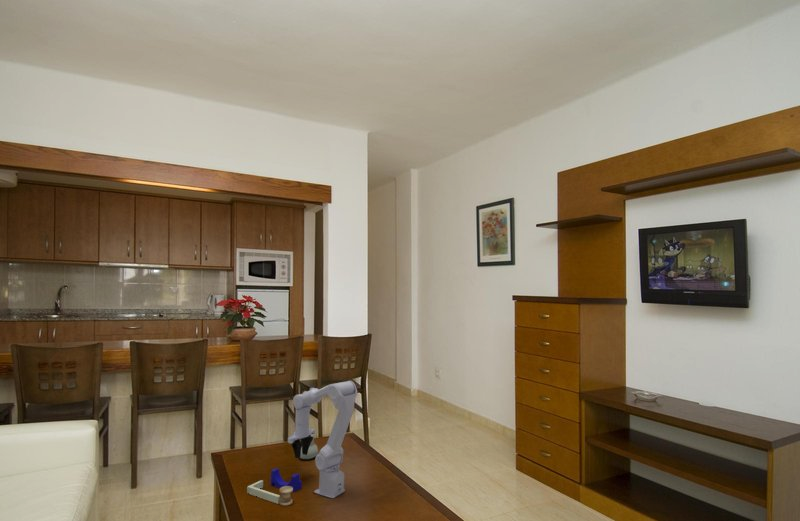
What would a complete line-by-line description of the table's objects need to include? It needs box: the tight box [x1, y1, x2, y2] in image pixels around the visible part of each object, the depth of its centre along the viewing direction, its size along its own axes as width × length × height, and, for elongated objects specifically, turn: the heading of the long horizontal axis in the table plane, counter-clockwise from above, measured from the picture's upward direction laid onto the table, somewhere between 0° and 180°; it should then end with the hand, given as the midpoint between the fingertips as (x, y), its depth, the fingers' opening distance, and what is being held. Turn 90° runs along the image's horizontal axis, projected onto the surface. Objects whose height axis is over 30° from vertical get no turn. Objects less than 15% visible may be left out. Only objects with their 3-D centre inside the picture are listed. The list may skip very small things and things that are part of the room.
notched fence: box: [246, 479, 282, 505], centre depth 176 cm, size 16×7×2 cm, turn 60°
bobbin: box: [278, 486, 293, 507], centre depth 171 cm, size 5×5×5 cm
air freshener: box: [299, 434, 319, 460], centre depth 216 cm, size 11×8×10 cm
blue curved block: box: [270, 467, 303, 493], centre depth 184 cm, size 12×4×6 cm, turn 63°
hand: (301, 456), depth 192 cm, fingers open, 4 cm apart
